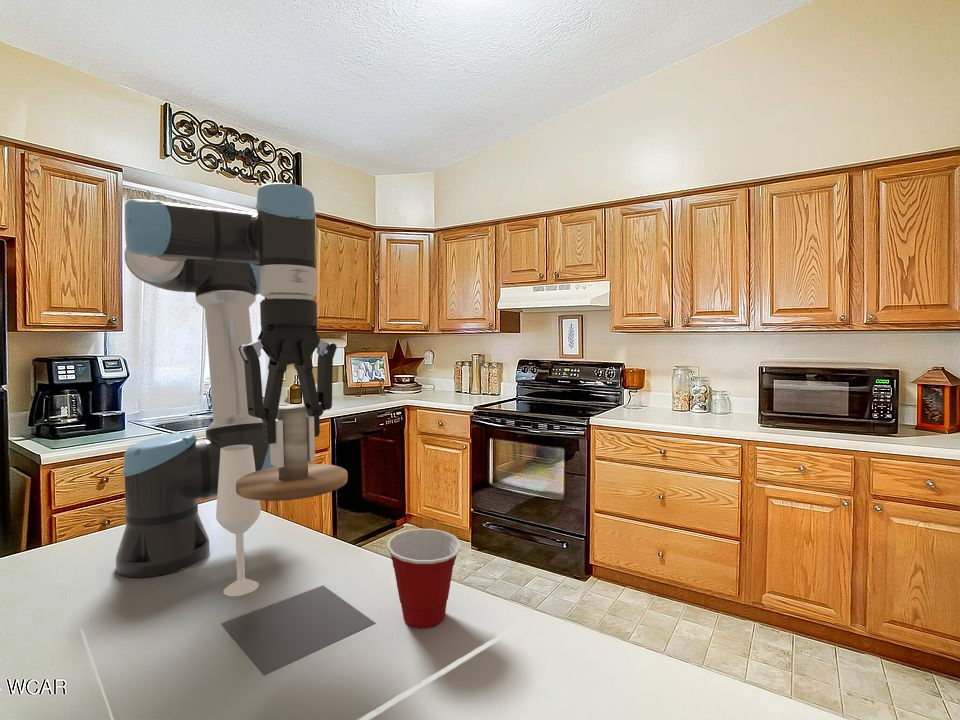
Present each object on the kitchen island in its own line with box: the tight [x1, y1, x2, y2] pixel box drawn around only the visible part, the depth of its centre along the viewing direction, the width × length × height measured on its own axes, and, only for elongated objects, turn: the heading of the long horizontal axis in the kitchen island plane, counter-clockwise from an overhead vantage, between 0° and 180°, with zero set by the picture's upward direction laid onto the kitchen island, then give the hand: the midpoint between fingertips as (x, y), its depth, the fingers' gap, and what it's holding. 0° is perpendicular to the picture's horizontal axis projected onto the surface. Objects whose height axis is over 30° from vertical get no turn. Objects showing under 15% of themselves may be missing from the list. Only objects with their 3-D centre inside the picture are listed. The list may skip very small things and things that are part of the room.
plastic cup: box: [386, 528, 462, 630], centre depth 75 cm, size 11×11×12 cm
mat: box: [220, 585, 377, 676], centre depth 74 cm, size 16×16×1 cm
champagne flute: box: [215, 445, 262, 597], centre depth 84 cm, size 7×7×24 cm
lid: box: [236, 405, 349, 502], centre depth 73 cm, size 15×15×11 cm
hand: (293, 462), depth 73 cm, fingers closed on lid, 4 cm apart
